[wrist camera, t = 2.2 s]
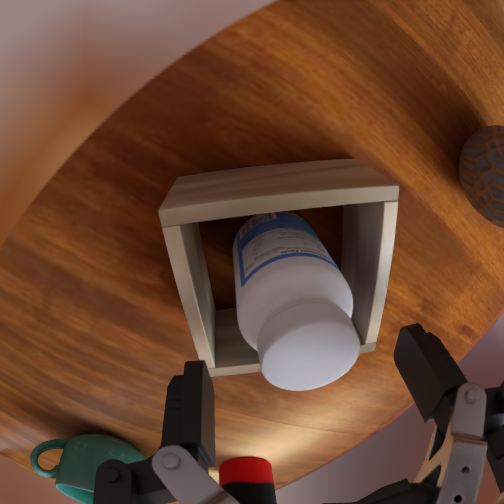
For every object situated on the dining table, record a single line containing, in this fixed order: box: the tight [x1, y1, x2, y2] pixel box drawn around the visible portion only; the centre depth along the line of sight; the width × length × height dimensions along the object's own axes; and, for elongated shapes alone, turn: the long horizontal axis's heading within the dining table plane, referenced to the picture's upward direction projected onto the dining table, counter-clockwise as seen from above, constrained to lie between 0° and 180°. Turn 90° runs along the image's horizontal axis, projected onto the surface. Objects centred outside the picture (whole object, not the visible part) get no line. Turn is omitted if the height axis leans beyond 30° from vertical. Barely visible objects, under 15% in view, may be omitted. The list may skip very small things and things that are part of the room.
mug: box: [30, 434, 146, 504], centre depth 27 cm, size 17×12×10 cm
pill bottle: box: [233, 211, 360, 391], centre depth 15 cm, size 6×5×10 cm
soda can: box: [219, 457, 277, 504], centre depth 31 cm, size 8×8×12 cm
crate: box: [158, 159, 399, 377], centre depth 17 cm, size 11×11×6 cm
